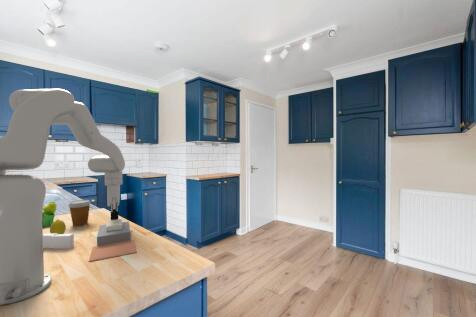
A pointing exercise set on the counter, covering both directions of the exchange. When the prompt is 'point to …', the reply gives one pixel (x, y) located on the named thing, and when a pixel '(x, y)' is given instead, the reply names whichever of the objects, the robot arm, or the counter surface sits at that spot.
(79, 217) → the disposable coffee cup
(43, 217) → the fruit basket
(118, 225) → the tile
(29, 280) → the robot arm
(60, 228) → the lemon
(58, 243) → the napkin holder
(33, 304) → the counter surface
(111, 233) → the grey block
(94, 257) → the mat
